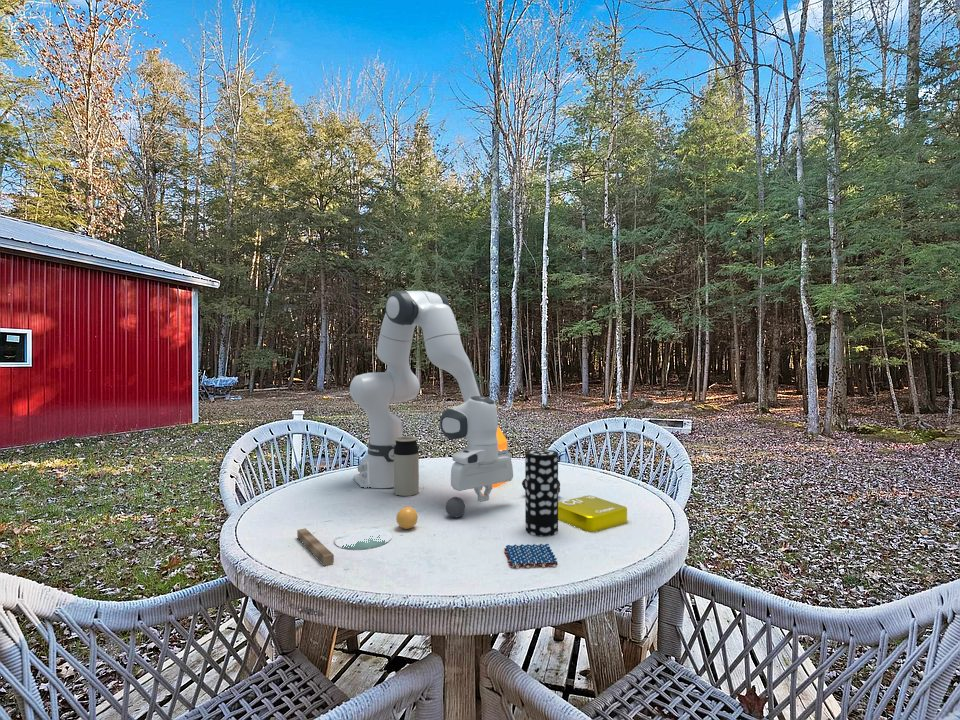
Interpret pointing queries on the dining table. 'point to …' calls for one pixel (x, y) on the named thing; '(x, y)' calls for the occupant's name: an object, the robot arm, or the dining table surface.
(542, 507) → the spotted tube
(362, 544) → the teal flat disc
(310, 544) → the brown wooden bar
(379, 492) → the dining table surface
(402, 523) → the orange ball
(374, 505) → the dining table surface
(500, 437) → the orange juice
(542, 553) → the woven mat
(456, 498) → the dark grey round ball
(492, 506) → the dining table surface
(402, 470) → the travel mug
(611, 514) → the element tile
